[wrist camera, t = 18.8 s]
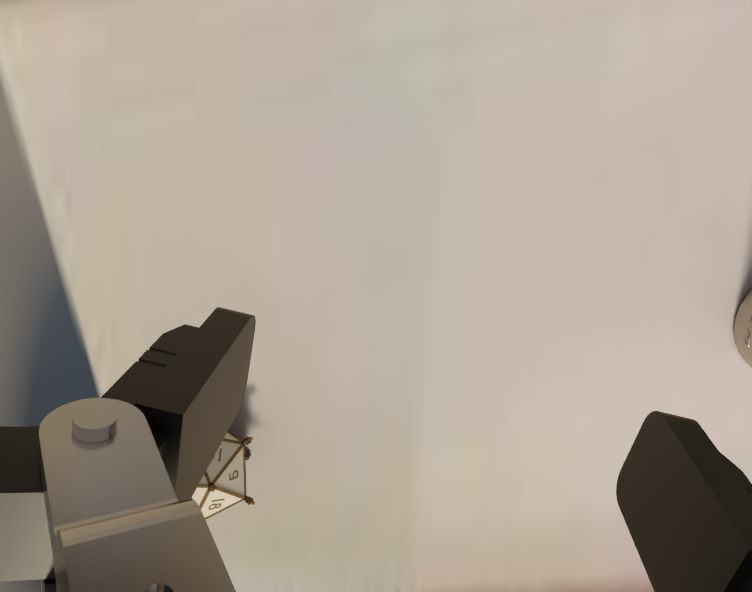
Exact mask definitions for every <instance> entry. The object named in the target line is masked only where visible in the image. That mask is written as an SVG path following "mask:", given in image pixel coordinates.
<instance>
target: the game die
mask: <svg viewBox="0 0 752 592" xmlns="http://www.w3.org/2000/svg"><path fill="white" fill-rule="evenodd" d="M252 438H253V437H246V439H245V438H244V440H243V441H241V440H240V439H238V438H237V437H235V436H234V435H232V434H231V433H230V432H227V434H226V435H225V437H224V439H223V441H222V443H221V445H220V446H219V448H218V450H217V452H216V454H215V456H214V457H213V459H212V461H211V463H210V465H209V466H208V468H207V470H206V472H205V474H204V476H203V477H202V479H201V481H200V483H199V485H198V487H197V488H196V490H195V492H194V494H193V496H192V498H191V499H193V500H195V501H196V502H197V504H198V505H199V507H200V509H201V511H202V513H203V516H204V518H205V519H207V518H209V517H211V516H213V515H215V514H217V513H219V512H221V511H223V510H225V509H227V508H229V507H231V506H233V505H235V504H237V503H239V502H241V501H242V500H245V501H246V503H248V505H249V504H255V503H254V501H253V498H250V497H247V496H246V469H245V460H246V459H247V460H248V459H249V457H250V456H251V455H250V454H248V453H246V454H245V445H246V444H247V445H248V444H249V443H251V440H252Z"/></svg>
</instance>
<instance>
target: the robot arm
mask: <svg viewBox="0 0 752 592" xmlns="http://www.w3.org/2000/svg"><path fill="white" fill-rule="evenodd" d="M254 332H255V316H254V315H249V314H245V313H241V312H237V311H232V310H228V309H224V308H220V307H218V308H216V309H215V310H214V311H213V313H212V314H211V315H210V316H209V317H208V318H207V319H206V321H205V322H204V323H203V324H202V325H201V326H200V328H198V327H193V326H189V325H183V326H180V327H178V328H176V329H173V330H171V331H168V332H166V333H164V334H162V335H161V337H160V338H159V339H158V340H157V341H156V342H155V343H154V344H153V345H152V346H151V347H150V349H149V350H147V351H146V352H145V353H144V354H143V355H142V356H141V357H140V358H139V361H138V362H135V363H134V364H133V365H132V366H131V367H130V368H129V369H128V370H127V371H126V372H125V373H124V375H123V376H122V377H121V378H120V379H119V380H118V381H117V382H116V383H115V384H114V385H113V386H112V387H111V388H110V389H109V390H108V391H107V392H106V393H105V394H104V395H103V396H102V397H101V398H91V399H84V400H78V401H75V402H71V403H68V404H66V405H63V406H61V407H59V408H57V409H55V410H54V411H52V412H51V413H50V414H48V415H47V416H46V418H45V419H44V420H43V422H42V423H41V425H40V426H36V427H0V582H2V581H18V580H35V579H41V586H42V592H236V591H235V589H234V586H233V584H232V582H231V579H230V577H229V575H228V572H227V570H226V568H225V565H224V563H223V560H222V558H221V556H220V553H219V551H218V549H217V546H216V544H215V542H214V539H213V537H212V535H211V532H210V530H209V527H208V525H207V523H206V520H205V518H204V516H203V513H202V511H201V509H200V507H199V505H198V504H197V502H196V501H195V500H193V499H191V498H192V496H193V494H194V492H195V490H196V488H197V487H198V485H199V483H200V481H201V479H202V477H203V476H204V474H205V472H206V470H207V468H208V466H209V465H210V463H211V461H212V459H213V457H214V456H215V454H216V452H217V450H218V448H219V446H220V445H221V443H222V441H223V439H224V437H225V435H226V434H227V432H228V430H229V428H230V426H231V424H232V423H233V421H234V419H235V417H236V415H237V413H238V411H239V409H240V406H241V403H242V400H243V397H244V393H245V389H246V385H247V378H248V372H249V365H250V358H251V352H252V345H253V338H254ZM734 337H735V344H736V346H737V348H738V351H739V353H740V355H741V356H742V357H743V358H744V360H745V361H746V362H747V363H748V364H749V365H750V366H751V367H752V290H751V291H750V292H749V293H748V295H747V296H746V298H745V299H744V301H743V302H742V304H741V306H740V308H739V310H738V313H737V316H736V318H735V325H734ZM616 493H617V501H618V505H619V507H620V510H621V512H622V514H623V517H624V519H625V522H626V524H627V526H628V529H629V531H630V534H631V536H632V538H633V541H634V543H635V546H636V548H637V550H638V553H639V555H640V558H641V560H642V562H643V565H644V567H645V570H646V572H647V574H648V577H649V579H650V582H651V584H652V586H653V589H654V591H655V592H752V484H751V482H750V481H749V480H748V478H747V477H746V476H745V474H744V473H743V472H742V471H741V470H740V469H739V468H738V467H737V466H736V465H734V464H733V463H732V462H731V461H730V460H728V459H727V458H726V457H725V456H724V455H723V454H721V453H720V452H719V451H718V450H717V448H716V447H715V446H714V444H713V443H712V441H711V440H710V439H709V437H708V436H707V435H706V433H705V432H704V430H703V429H702V428H701V426H700V425H699V424H698V423H697V422H696V421H695V420H692V419H688V418H684V417H680V416H676V415H671V414H667V413H663V412H659V411H654V412H651V413H650V414H649V415H648V416H647V417H646V419H645V420H644V422H643V424H642V427H641V429H640V431H639V433H638V435H637V437H636V439H635V441H634V443H633V445H632V448H631V450H630V452H629V454H628V456H627V458H626V460H625V462H624V464H623V467H622V469H621V471H620V473H619V476H618V481H617V489H616Z"/></svg>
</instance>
